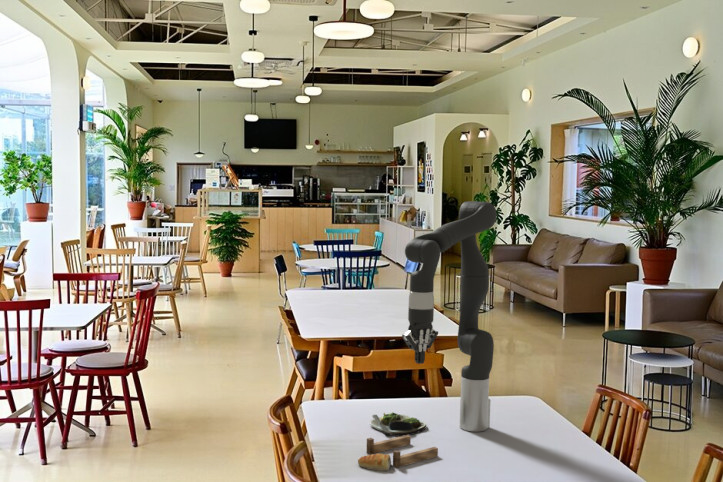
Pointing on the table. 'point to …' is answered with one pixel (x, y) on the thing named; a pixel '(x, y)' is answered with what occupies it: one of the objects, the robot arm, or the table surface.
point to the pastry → (375, 462)
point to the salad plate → (397, 424)
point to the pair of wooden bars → (398, 459)
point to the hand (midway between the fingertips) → (419, 363)
